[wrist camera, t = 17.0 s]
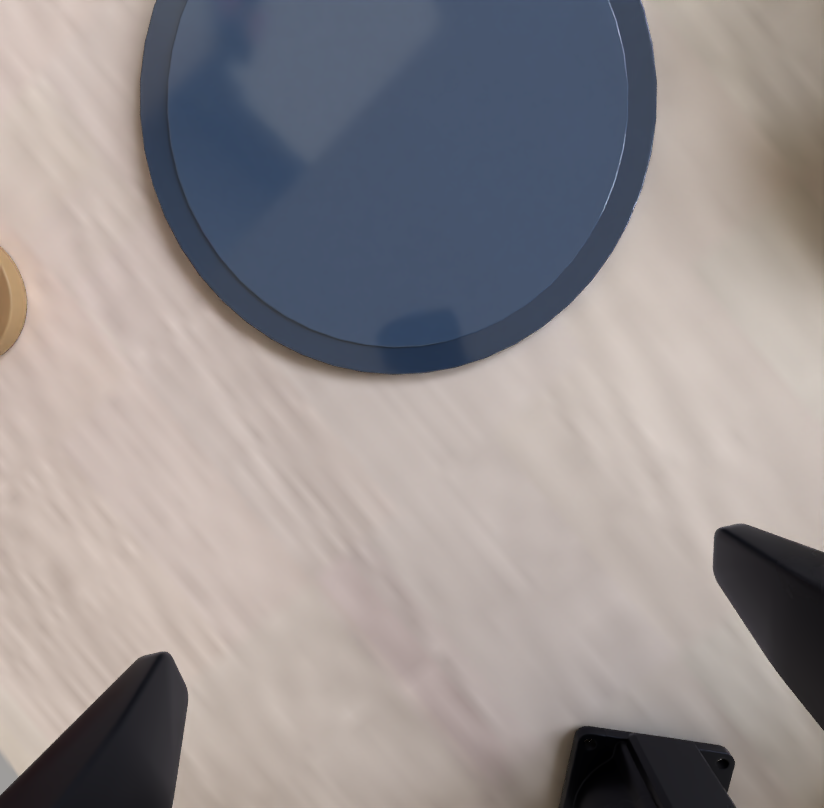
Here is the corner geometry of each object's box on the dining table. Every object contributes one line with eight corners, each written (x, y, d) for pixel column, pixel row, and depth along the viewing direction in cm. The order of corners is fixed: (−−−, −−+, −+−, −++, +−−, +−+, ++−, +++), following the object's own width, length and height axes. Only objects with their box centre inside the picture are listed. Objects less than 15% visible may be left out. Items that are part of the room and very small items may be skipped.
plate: (596, 405, 20) (601, 407, 19) (129, 336, 20) (121, 336, 19) (704, -128, 17) (712, -141, 17) (164, -209, 17) (157, -225, 17)
